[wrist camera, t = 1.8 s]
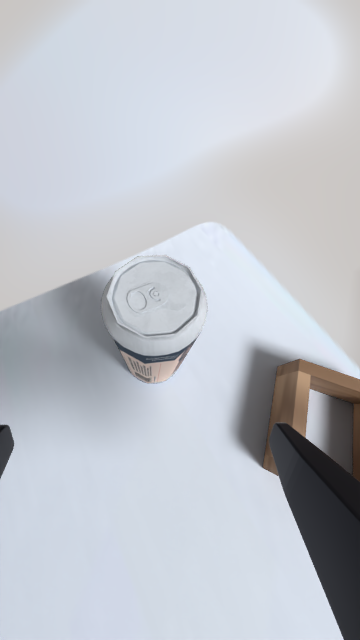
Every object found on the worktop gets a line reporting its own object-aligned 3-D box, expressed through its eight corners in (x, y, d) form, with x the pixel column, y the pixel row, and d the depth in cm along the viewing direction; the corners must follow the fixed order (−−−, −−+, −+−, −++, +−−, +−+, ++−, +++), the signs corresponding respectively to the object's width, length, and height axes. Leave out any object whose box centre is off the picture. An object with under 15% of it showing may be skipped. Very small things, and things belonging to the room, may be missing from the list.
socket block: (364, 503, 18) (410, 523, 15) (262, 467, 18) (286, 480, 15) (363, 396, 21) (401, 393, 18) (277, 366, 21) (299, 358, 18)
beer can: (189, 369, 20) (233, 321, 9) (139, 394, 19) (122, 371, 8) (166, 323, 22) (181, 234, 11) (118, 343, 21) (79, 265, 9)
